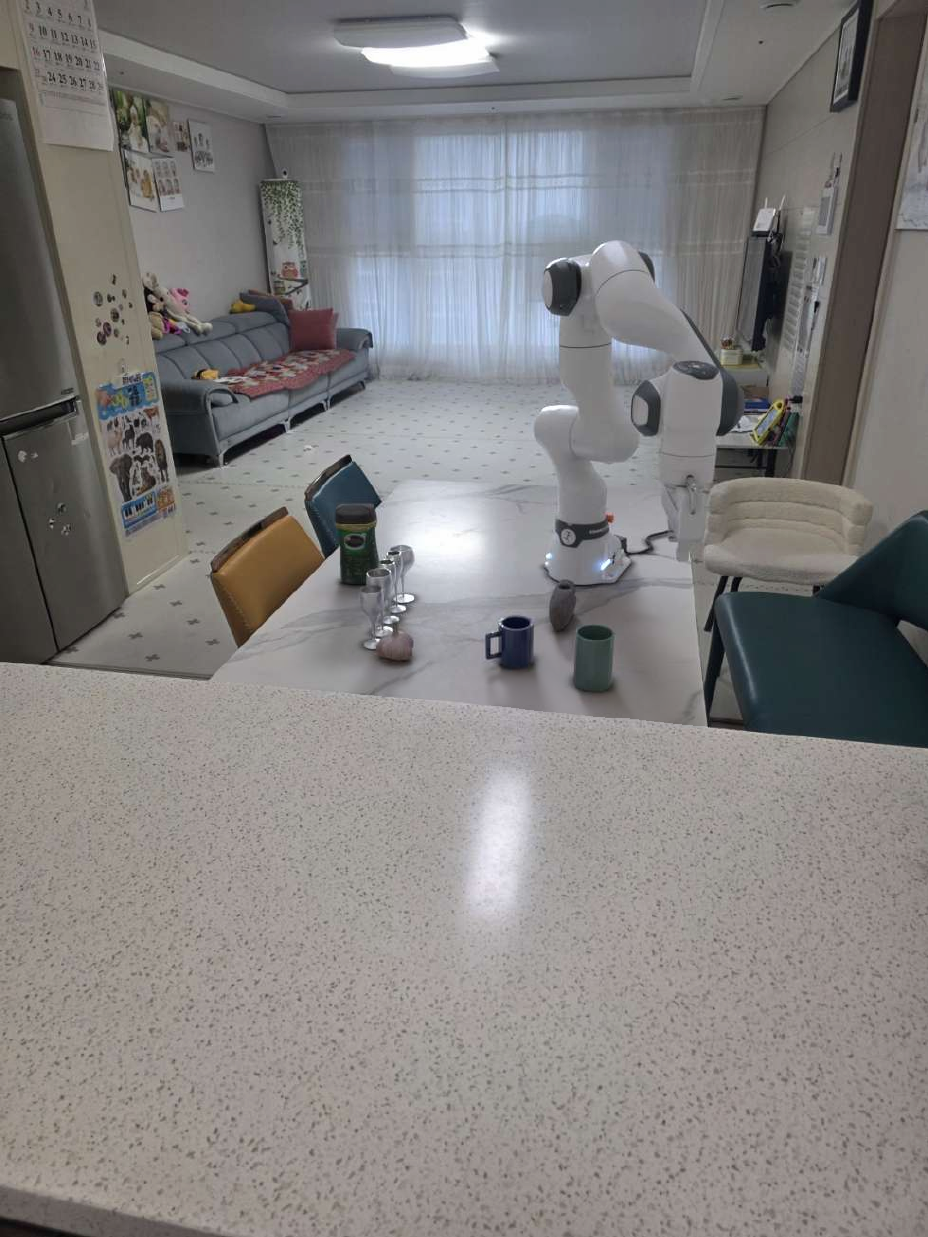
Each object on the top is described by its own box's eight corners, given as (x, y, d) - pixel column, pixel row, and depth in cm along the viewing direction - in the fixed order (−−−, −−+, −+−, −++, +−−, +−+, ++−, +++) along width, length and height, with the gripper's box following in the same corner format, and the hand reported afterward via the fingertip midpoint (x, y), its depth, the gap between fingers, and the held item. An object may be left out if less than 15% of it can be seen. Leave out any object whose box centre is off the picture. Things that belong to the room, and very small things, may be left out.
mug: (523, 650, 161) (523, 612, 158) (539, 664, 156) (540, 626, 152) (478, 659, 158) (478, 622, 154) (493, 674, 152) (492, 636, 149)
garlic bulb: (417, 663, 157) (415, 625, 154) (379, 667, 156) (376, 629, 152) (411, 645, 164) (409, 609, 160) (374, 649, 162) (371, 613, 159)
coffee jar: (383, 573, 199) (378, 499, 191) (378, 585, 192) (373, 509, 184) (343, 573, 200) (337, 499, 192) (337, 585, 193) (330, 509, 185)
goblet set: (385, 650, 162) (381, 588, 156) (357, 648, 163) (352, 586, 157) (419, 594, 187) (416, 539, 181) (394, 593, 188) (391, 538, 182)
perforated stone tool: (567, 638, 166) (568, 606, 163) (541, 635, 167) (542, 603, 164) (579, 608, 179) (580, 578, 176) (555, 605, 180) (555, 576, 177)
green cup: (585, 669, 153) (587, 621, 149) (617, 680, 150) (621, 630, 145) (566, 684, 149) (568, 634, 144) (599, 695, 145) (602, 644, 141)
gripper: (718, 486, 122) (708, 573, 128) (695, 453, 140) (686, 531, 146) (675, 486, 122) (666, 572, 128) (657, 453, 141) (650, 530, 147)
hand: (677, 550), depth 137 cm, fingers open, 8 cm apart
